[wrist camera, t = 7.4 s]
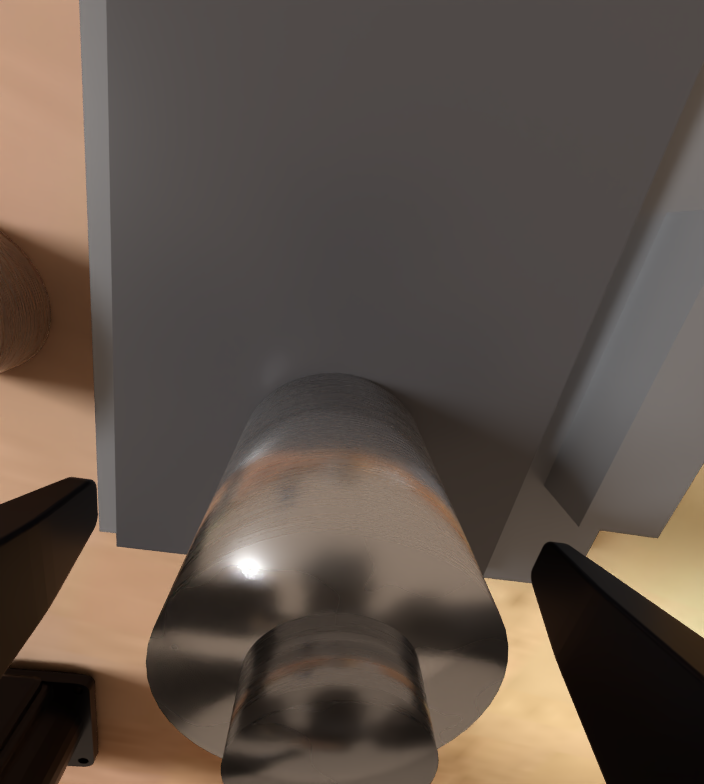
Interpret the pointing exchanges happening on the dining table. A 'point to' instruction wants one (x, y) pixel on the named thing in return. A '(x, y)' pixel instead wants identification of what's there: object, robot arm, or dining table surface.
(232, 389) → the scale
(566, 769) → the dining table surface
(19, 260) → the weight
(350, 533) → the weight
